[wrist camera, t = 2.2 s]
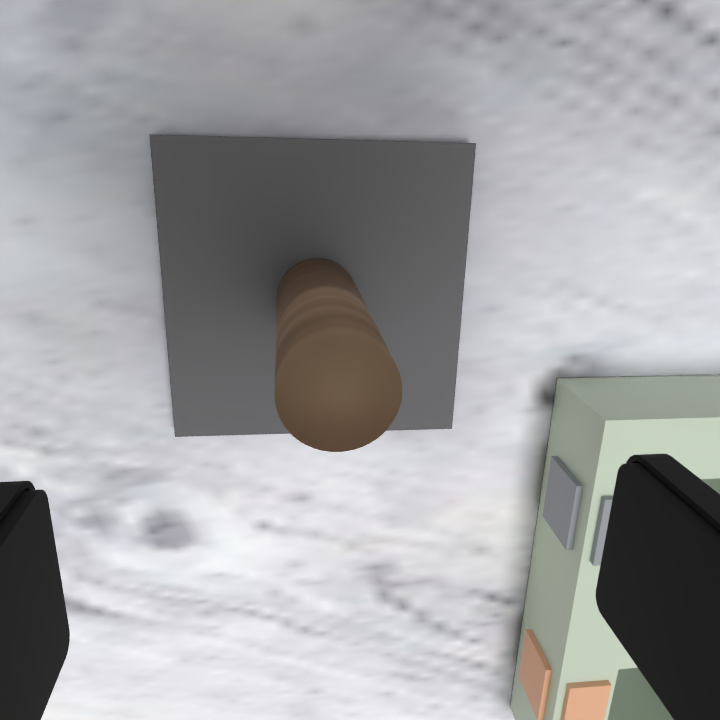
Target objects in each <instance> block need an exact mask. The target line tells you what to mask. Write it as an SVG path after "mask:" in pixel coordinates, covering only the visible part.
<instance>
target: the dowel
mask: <svg viewBox="0 0 720 720" xmlns="http://www.w3.org/2000/svg"><path fill="white" fill-rule="evenodd" d="M274 396H275V405H276V409H277V412H278V415H279V417H280V420H281V421H282V423H283V425H284V426H285V427H286V429H287V430H288V431H289V432H290V433H291V434H292V435H293V436H294V437H295V438H296V439H298V440H299V441H300V442H302V443H304V444H306V445H308V446H310V447H312V448H315V449H319V450H323V451H330V452H342V451H349V450H354V449H357V448H360V447H363V446H365V445H367V444H369V443H371V442H372V441H374V440H376V439H377V438H378V437H379V436H381V435H382V434H383V433H384V432H385V431H386V430H387V429H388V428H389V426H390V425H391V424H392V422H393V421H394V419H395V417H396V415H397V413H398V411H399V408H400V405H401V401H402V380H401V376H400V373H399V370H398V368H397V366H396V364H395V362H394V360H393V358H392V356H391V354H390V352H389V350H388V348H387V346H386V344H385V342H384V340H383V338H382V336H381V334H380V332H379V330H378V328H377V326H376V324H375V322H374V320H373V318H372V316H371V314H370V312H369V310H368V308H367V306H366V304H365V302H364V300H363V298H362V297H361V295H360V293H359V291H358V289H357V287H356V285H355V283H354V281H353V279H352V277H351V276H350V274H349V273H348V272H347V271H346V270H345V269H344V268H343V267H342V266H341V265H339V264H338V263H336V262H334V261H331V260H328V259H323V258H312V259H307V260H304V261H301V262H299V263H297V264H296V265H294V266H293V267H291V268H290V269H289V270H288V271H287V272H286V274H285V275H284V277H283V278H282V280H281V282H280V285H279V288H278V293H277V325H276V360H275V395H274Z"/></svg>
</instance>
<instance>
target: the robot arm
mask: <svg viewBox="0 0 720 720" xmlns="http://www.w3.org/2000/svg"><path fill="white" fill-rule="evenodd" d="M596 602H597V606H598V609H599V612H600V613H601V615H602V617H603V618H604V620H605V621H606V623H607V624H608V625H609V627H610V628H611V630H612V631H613V633H614V634H615V635H616V637H617V638H618V640H619V641H620V643H621V644H622V646H623V647H624V648H625V650H626V651H627V653H628V654H629V656H630V657H631V659H632V660H633V661H634V663H635V664H636V666H637V667H638V669H639V670H640V671H641V673H642V674H643V676H644V677H645V679H646V680H647V682H648V683H649V684H650V686H651V687H652V689H653V690H654V692H655V693H656V695H657V696H658V697H659V699H660V700H661V702H662V703H663V705H664V706H665V708H666V709H667V710H668V712H669V713H670V715H671V716H672V718H673V719H674V720H720V494H719V493H718V492H716V491H715V490H714V489H712V488H711V487H710V486H709V485H707V484H706V483H705V482H704V481H702V480H701V479H700V478H698V477H697V476H696V475H695V474H693V473H692V472H691V471H690V470H688V469H687V468H686V467H684V466H683V465H682V464H681V463H679V462H678V461H677V460H676V459H674V458H673V457H672V456H670V455H668V454H642V455H633V456H631V457H629V459H628V460H627V462H626V464H622V465H621V466H620V467H619V469H618V473H617V478H616V483H615V489H614V494H613V500H612V505H611V510H610V516H609V521H608V527H607V532H606V538H605V543H604V549H603V554H602V560H601V565H600V570H599V576H598V581H597V587H596ZM69 636H70V633H69V625H68V619H67V613H66V607H65V601H64V594H63V588H62V582H61V576H60V570H59V564H58V558H57V552H56V546H55V539H54V533H53V527H52V521H51V515H50V509H49V503H48V498H47V494H46V493H45V491H44V490H35V488H34V486H33V484H32V483H31V482H30V481H15V482H0V720H41V717H42V715H43V712H44V710H45V708H46V705H47V703H48V700H49V698H50V695H51V693H52V690H53V688H54V685H55V683H56V680H57V678H58V676H59V673H60V671H61V668H62V666H63V663H64V661H65V658H66V655H67V652H68V647H69Z"/></svg>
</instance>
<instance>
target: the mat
mask: <svg viewBox="0 0 720 720" xmlns="http://www.w3.org/2000/svg"><path fill="white" fill-rule="evenodd" d="M150 145H151V157H152V169H153V181H154V193H155V204H156V216H157V228H158V240H159V252H160V264H161V276H162V287H163V299H164V311H165V323H166V335H167V347H168V359H169V370H170V382H171V394H172V406H173V418H174V430H175V437H182V436H217V435H251V434H285V433H290V432H289V431H288V430H287V429H286V427H285V426H284V425H283V423H282V421H281V420H280V417H279V415H278V412H277V409H276V405H275V396H274V395H275V360H276V325H277V293H278V288H279V285H280V282H281V280H282V278H283V277H284V275H285V274H286V272H287V271H288V270H289V269H290V268H291V267H293V266H294V265H296V264H297V263H299V262H301V261H304V260H307V259H312V258H323V259H328V260H331V261H334V262H336V263H338V264H339V265H341V266H342V267H343V268H344V269H345V270H346V271H347V272H348V273H349V274H350V276H351V277H352V279H353V281H354V283H355V285H356V287H357V289H358V291H359V293H360V295H361V297H362V298H363V300H364V302H365V304H366V306H367V308H368V310H369V312H370V314H371V316H372V318H373V320H374V322H375V324H376V326H377V328H378V330H379V332H380V334H381V336H382V338H383V340H384V342H385V344H386V346H387V348H388V350H389V352H390V354H391V356H392V358H393V360H394V362H395V364H396V366H397V368H398V370H399V373H400V376H401V380H402V401H401V405H400V408H399V411H398V413H397V415H396V417H395V419H394V421H393V422H392V424H391V425H390V426H389V428H388V429H387V430H422V429H452V421H453V409H454V397H455V385H456V374H457V362H458V350H459V338H460V326H461V314H462V302H463V290H464V279H465V267H466V255H467V243H468V231H469V219H470V207H471V196H472V184H473V172H474V160H475V148H476V143H444V142H407V141H371V140H334V139H297V138H260V137H223V136H186V135H150ZM387 430H386V431H387Z"/></svg>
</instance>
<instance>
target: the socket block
mask: <svg viewBox="0 0 720 720" xmlns="http://www.w3.org/2000/svg"><path fill="white" fill-rule="evenodd" d="M642 454H668V455H670V456H672V457H673V458H674V459H676V460H677V461H678V462H679V463H681V464H682V465H683V466H684V467H686V468H687V469H688V470H690V471H691V472H692V473H693V474H695V475H696V476H697V477H698V478H700V479H701V480H702V481H704V482H705V483H706V484H707V485H709V486H710V487H711V488H712V489H714V490H715V491H716V492H718V493H719V494H720V375H694V376H643V377H592V378H557V385H556V392H555V399H554V406H553V413H552V420H551V427H550V433H549V440H548V447H547V454H546V461H545V468H544V475H543V482H542V489H541V496H540V503H539V510H538V517H537V524H536V531H535V538H534V545H533V552H532V558H531V565H530V572H529V579H528V586H527V593H526V600H525V607H524V614H523V621H522V628H521V635H520V642H519V649H518V656H517V663H516V670H515V676H514V683H513V690H512V697H511V704H510V708H511V710H512V713H513V715H514V718H515V720H674V719H673V718H672V716H671V715H670V713H669V712H668V710H667V709H666V708H665V706H664V705H663V703H662V702H661V700H660V699H659V697H658V696H657V695H656V693H655V692H654V690H653V689H652V687H651V686H650V684H649V683H648V682H647V680H646V679H645V677H644V676H643V674H642V673H641V671H640V670H639V669H638V667H637V666H636V664H635V663H634V661H633V660H632V659H631V657H630V656H629V654H628V653H627V651H626V650H625V648H624V647H623V646H622V644H621V643H620V641H619V640H618V638H617V637H616V635H615V634H614V633H613V631H612V630H611V628H610V627H609V625H608V624H607V623H606V621H605V620H604V618H603V617H602V615H601V613H600V612H599V609H598V606H597V602H596V587H597V581H598V576H599V570H600V565H601V560H602V554H603V549H604V543H605V538H606V532H607V527H608V521H609V516H610V510H611V505H612V500H613V494H614V489H615V483H616V478H617V473H618V469H619V467H620V466H621V465H622V464H626V462H627V460H628V459H629V457H631V456H633V455H642Z"/></svg>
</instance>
